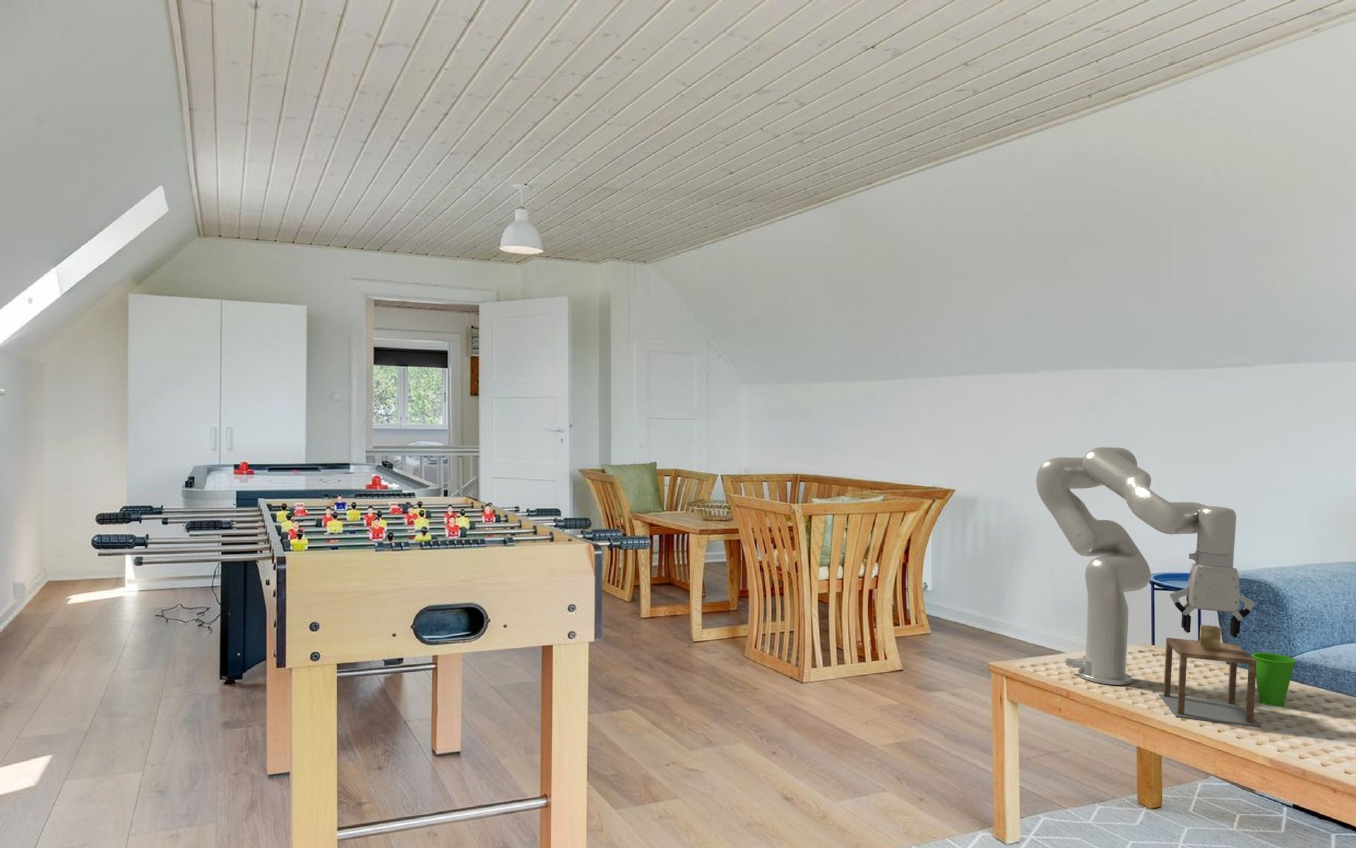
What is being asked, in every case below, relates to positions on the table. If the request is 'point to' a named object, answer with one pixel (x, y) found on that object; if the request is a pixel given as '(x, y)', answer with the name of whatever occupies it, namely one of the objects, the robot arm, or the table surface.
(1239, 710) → the mat
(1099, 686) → the table surface
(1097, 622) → the robot arm
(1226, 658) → the cover
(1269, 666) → the cup
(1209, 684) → the table surface
